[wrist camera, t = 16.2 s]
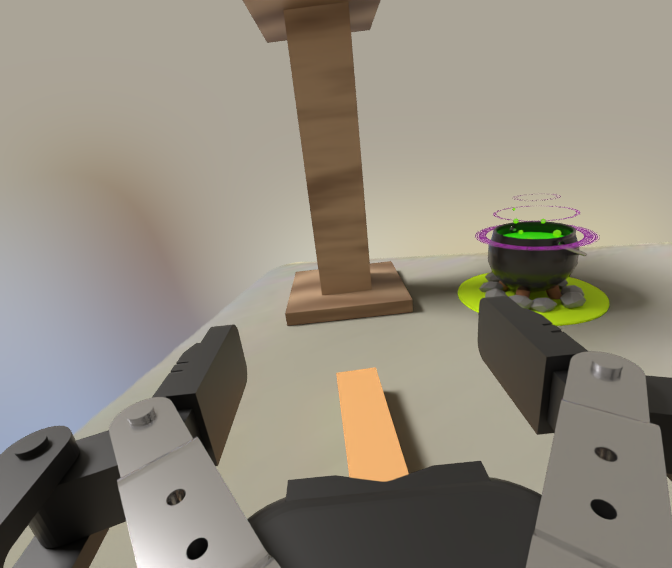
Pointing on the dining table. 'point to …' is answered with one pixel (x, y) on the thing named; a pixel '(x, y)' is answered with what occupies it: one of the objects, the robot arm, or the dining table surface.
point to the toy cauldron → (537, 272)
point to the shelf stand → (331, 160)
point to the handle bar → (368, 428)
